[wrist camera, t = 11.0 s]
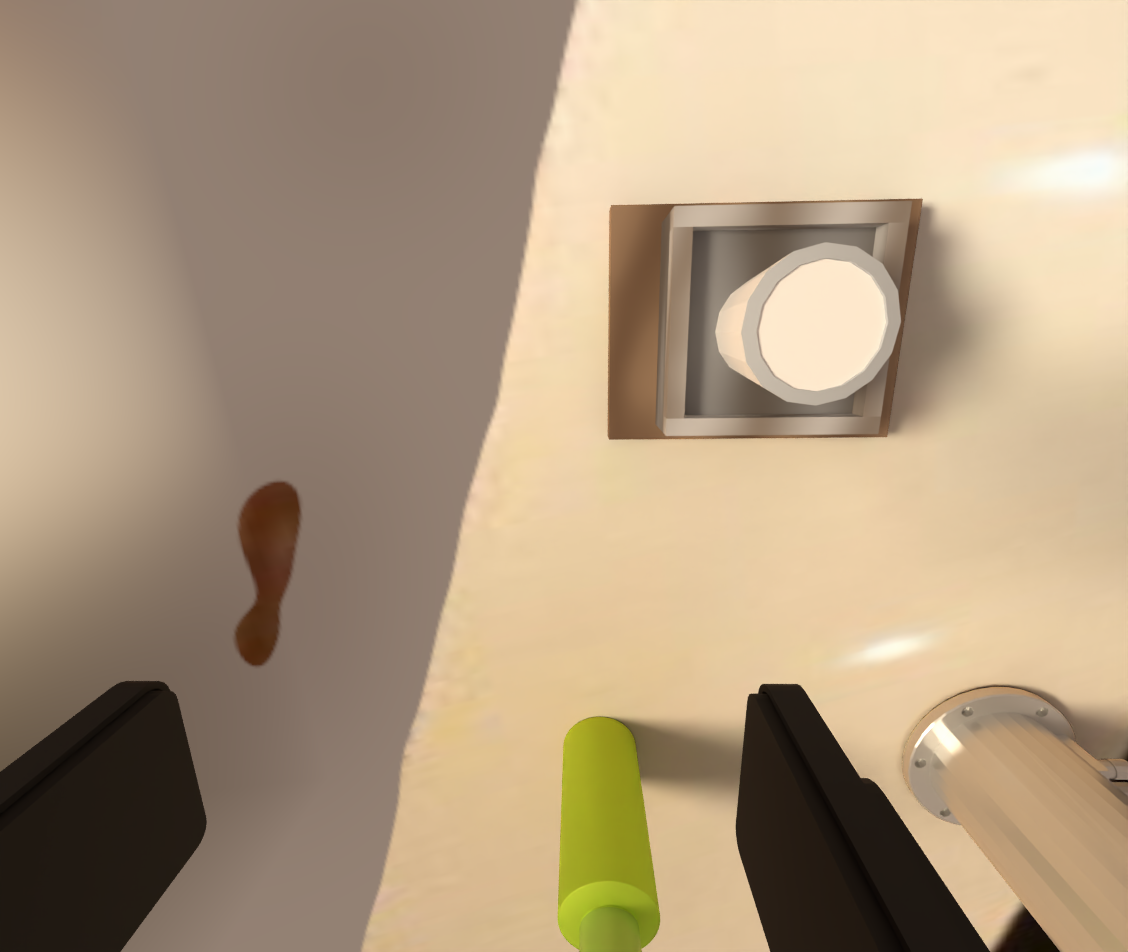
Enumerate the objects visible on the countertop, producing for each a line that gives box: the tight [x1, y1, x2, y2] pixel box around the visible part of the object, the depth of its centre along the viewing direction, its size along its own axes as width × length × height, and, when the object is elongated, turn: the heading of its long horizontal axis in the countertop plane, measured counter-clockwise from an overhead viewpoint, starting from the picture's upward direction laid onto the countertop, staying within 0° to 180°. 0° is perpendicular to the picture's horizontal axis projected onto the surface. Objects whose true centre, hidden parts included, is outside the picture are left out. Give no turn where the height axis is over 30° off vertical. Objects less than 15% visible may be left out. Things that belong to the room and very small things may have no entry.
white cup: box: [715, 242, 901, 406], centre depth 26 cm, size 7×7×7 cm
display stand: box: [608, 199, 923, 439], centre depth 31 cm, size 18×14×6 cm
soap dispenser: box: [558, 717, 660, 952], centre depth 33 cm, size 6×7×20 cm
